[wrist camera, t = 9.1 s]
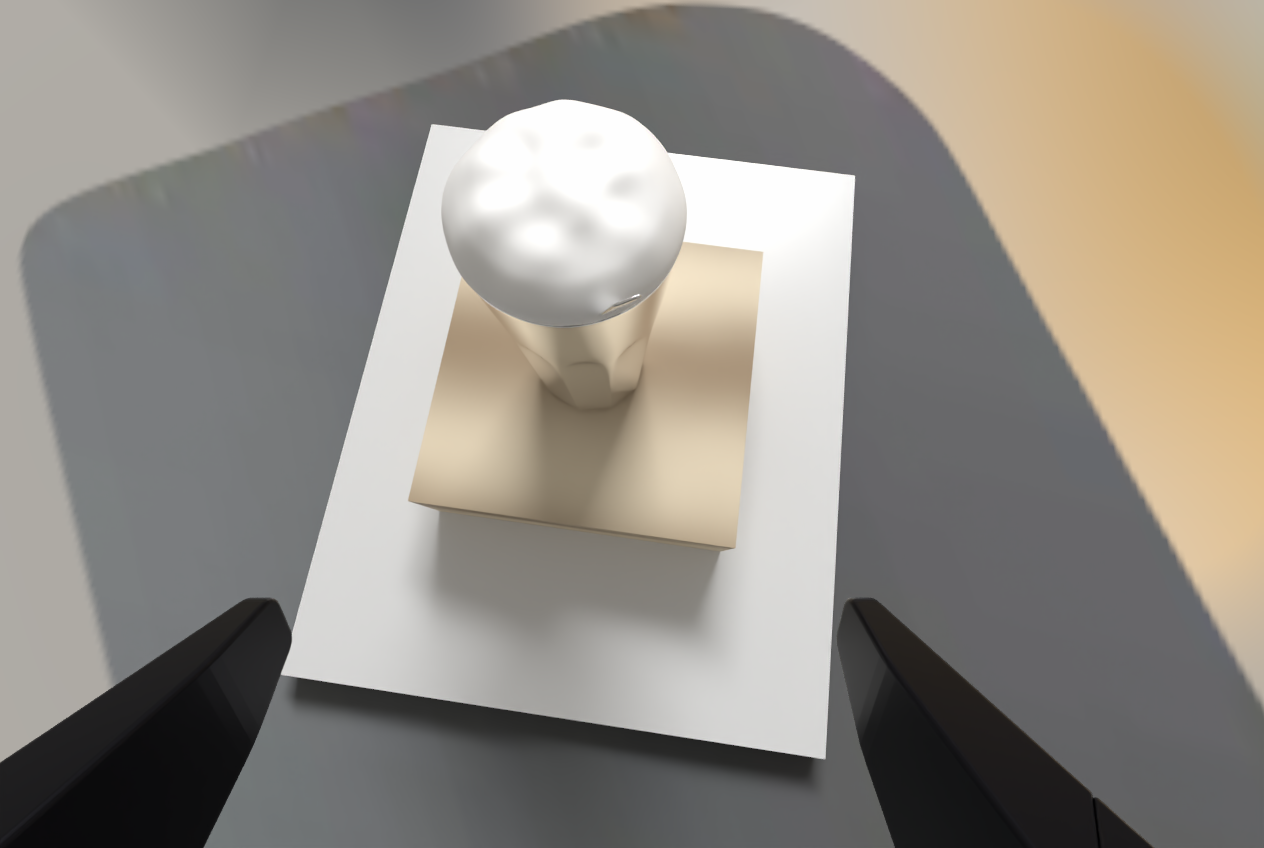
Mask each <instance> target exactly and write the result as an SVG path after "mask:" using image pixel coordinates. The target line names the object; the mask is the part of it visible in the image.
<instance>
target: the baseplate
mask: <svg viewBox="0 0 1264 848" xmlns="http://www.w3.org/2000/svg"><path fill="white" fill-rule="evenodd" d="M485 132H486V131H483V130H475V129H466V128H458V127H450V126H442V125H434V124H432V126H431V129H430V133H429V137H428V140H427V144H426V147H425V151H424V155H423V158H422V162H421V166H420V169H419V173H418V177H417V180H416V184H415V188H414V191H413V195H412V198H411V202H410V206H409V209H408V213H407V217H406V220H405V224H404V228H403V231H402V235H401V239H400V242H399V246H398V250H397V253H396V257H395V260H394V264H393V268H392V271H391V275H390V279H389V282H388V286H387V290H386V293H385V297H384V301H383V304H382V308H381V311H380V315H379V319H378V322H377V326H376V330H375V333H374V337H373V341H372V344H371V348H370V352H369V355H368V359H367V362H366V366H365V370H364V373H363V377H362V381H361V384H360V388H359V392H358V395H357V399H356V403H355V406H354V410H353V413H352V417H351V421H350V424H349V428H348V432H347V435H346V439H345V443H344V446H343V450H342V454H341V457H340V461H339V465H338V468H337V472H336V475H335V479H334V483H333V486H332V490H331V494H330V497H329V501H328V505H327V508H326V512H325V516H324V519H323V523H322V526H321V530H320V534H319V537H318V541H317V545H316V548H315V552H314V556H313V559H312V563H311V567H310V570H309V574H308V577H307V581H306V585H305V588H304V592H303V596H302V599H301V603H300V607H299V610H298V614H297V618H296V621H295V625H294V628H293V632H292V644H291V648H290V651H289V654H288V656H287V659H286V662H285V664H284V667H283V670H282V672H281V675H286V676H293V677H299V678H305V679H312V680H318V681H325V682H331V683H338V684H344V685H350V686H357V687H363V688H370V689H376V690H383V691H389V692H396V693H402V694H408V695H415V696H421V697H428V698H434V699H441V700H447V701H453V702H460V703H466V704H473V705H479V706H486V707H492V708H499V709H505V710H511V711H518V712H524V713H531V714H537V715H544V716H550V717H556V718H563V719H569V720H576V721H582V722H589V723H595V724H601V725H608V726H614V727H621V728H627V729H634V730H640V731H647V732H653V733H659V734H666V735H672V736H679V737H685V738H692V739H698V740H704V741H711V742H717V743H724V744H730V745H737V746H743V747H749V748H756V749H762V750H769V751H775V752H782V753H788V754H795V755H801V756H807V757H814V758H820V759H825V756H826V736H827V716H828V697H829V677H830V657H831V638H832V618H833V598H834V578H835V559H836V539H837V519H838V500H839V480H840V460H841V441H842V421H843V401H844V382H845V362H846V342H847V322H848V303H849V283H850V263H851V244H852V224H853V204H854V185H855V176H853V175H845V174H836V173H828V172H820V171H812V170H804V169H795V168H787V167H779V166H771V165H762V164H754V163H746V162H738V161H730V160H721V159H713V158H705V157H697V156H688V155H680V154H672V153H668V155H669V156H670V158H671V160H672V162H673V164H674V166H675V169H676V171H677V173H678V176H679V178H680V181H681V183H682V186H683V190H684V193H685V197H686V204H687V223H686V230H685V235H684V240H683V242H689V243H697V244H705V245H713V246H721V247H729V248H737V249H745V250H753V251H760V252H763V261H762V271H761V282H760V293H759V303H758V314H757V325H756V335H755V346H754V357H753V367H752V378H751V388H750V399H749V410H748V420H747V431H746V442H745V452H744V463H743V474H742V484H741V495H740V505H739V516H738V527H737V537H736V548H734V549H730V550H725V551H721V552H719V551H712V550H705V549H699V548H692V547H685V546H678V545H671V544H664V543H657V542H650V541H643V540H636V539H629V538H622V537H615V536H608V535H602V534H595V533H588V532H581V531H574V530H567V529H560V528H553V527H546V526H539V525H532V524H525V523H518V522H511V521H505V520H498V519H491V518H484V517H477V516H470V515H463V514H456V513H449V512H442V511H438V510H435V509H431V508H428V507H425V506H422V505H419V504H416V503H413V502H409V501H408V498H409V494H410V490H411V485H412V481H413V477H414V473H415V469H416V465H417V460H418V456H419V452H420V448H421V444H422V440H423V435H424V431H425V427H426V423H427V419H428V415H429V410H430V406H431V402H432V398H433V394H434V389H435V385H436V381H437V377H438V373H439V369H440V364H441V360H442V356H443V352H444V348H445V344H446V339H447V335H448V331H449V327H450V323H451V319H452V314H453V310H454V306H455V302H456V298H457V294H458V289H459V285H460V281H461V277H462V276H461V275H460V273H459V271H458V270H457V268H456V266H455V264H454V262H453V259H452V257H451V254H450V252H449V249H448V246H447V243H446V239H445V235H444V231H443V225H442V218H441V205H442V196H443V191H444V188H445V185H446V182H447V179H448V177H449V175H450V173H451V171H452V170H453V168H454V166H455V165H456V164H457V162H458V161H459V160H460V159H461V158H462V157H463V155H464V154H465V153H466V152H467V151H468V150H469V149H470V148H471V147H472V146H473V144H474V143H475V142H476V141H477V140H478V139H479V138H480V137H481V136H482V135H483V134H484V133H485Z"/></svg>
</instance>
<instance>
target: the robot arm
mask: <svg viewBox="0 0 1264 848" xmlns="http://www.w3.org/2000/svg"><path fill="white" fill-rule="evenodd" d="M291 644H292V633H291V630H290V627H289V625H288V623H287V620H286V618H285V616H284V614H283V611H282V609H281V607H280V604H279V603H278V601H277V600H275V599H274V598H248V599H245V600H243V601H241V602H239V603H238V604H236V605H235V606H233V607H232V608H230V609H229V610H227V611H226V612H224V613H223V614H222V615H220V616H219V617H217V618H216V619H214V620H213V621H211V622H210V623H208V624H207V625H205V626H204V627H202V628H201V629H199V630H198V631H196V632H195V633H193V634H192V635H190V636H189V637H187V638H186V639H184V640H183V641H181V642H180V643H178V644H177V645H175V646H174V647H172V648H171V649H169V650H168V651H166V652H165V653H163V654H162V655H160V656H159V657H157V658H156V659H154V660H153V661H151V662H150V663H148V664H147V665H145V666H144V667H142V668H141V669H139V670H138V671H136V672H135V673H133V674H132V675H130V676H129V677H127V678H126V679H124V680H123V681H121V682H120V683H118V684H117V685H115V686H114V687H112V688H111V689H109V690H108V691H106V692H105V693H103V694H102V695H100V696H99V697H97V698H96V699H94V700H93V701H91V702H90V703H89V704H87V705H86V706H84V707H83V708H81V709H80V710H78V711H77V712H75V713H74V714H72V715H71V716H69V717H68V718H66V719H65V720H63V721H62V722H60V723H59V724H57V725H56V726H54V727H53V728H51V729H50V730H48V731H47V732H45V733H44V734H42V735H41V736H39V737H38V738H36V739H35V740H33V741H32V742H30V743H29V744H27V745H26V746H24V747H23V748H21V749H20V750H18V751H17V752H15V753H14V754H12V755H11V756H10V757H8V758H6V759H5V760H3V761H2V762H0V848H204V846H205V844H206V841H207V839H208V837H209V835H210V833H211V831H212V829H213V827H214V825H215V823H216V821H217V819H218V817H219V815H220V813H221V811H222V809H223V807H224V805H225V803H226V801H227V799H228V797H229V795H230V793H231V791H232V789H233V787H234V785H235V782H236V780H237V778H238V776H239V774H240V772H241V770H242V768H243V766H244V764H245V762H246V760H247V758H248V756H249V754H250V751H251V749H252V747H253V745H254V743H255V740H256V738H257V735H258V733H259V730H260V728H261V725H262V723H263V720H264V717H265V715H266V712H267V709H268V707H269V704H270V701H271V699H272V696H273V694H274V691H275V688H276V686H277V683H278V680H279V678H280V675H281V672H282V670H283V667H284V664H285V662H286V659H287V656H288V654H289V651H290V648H291ZM837 648H838V652H839V657H840V661H841V665H842V670H843V674H844V678H845V683H846V687H847V691H848V696H849V700H850V704H851V709H852V713H853V718H854V722H855V726H856V730H857V734H858V738H859V742H860V746H861V749H862V752H863V755H864V759H865V762H866V765H867V768H868V770H869V773H870V776H871V779H872V782H873V785H874V788H875V791H876V794H877V797H878V800H879V803H880V805H881V808H882V811H883V814H884V817H885V820H886V823H887V826H888V829H889V832H890V835H891V838H892V840H893V843H894V846H895V848H1154V847H1153V846H1152V845H1151V844H1150V843H1149V842H1147V841H1146V840H1145V839H1144V838H1143V837H1142V836H1141V835H1139V834H1138V833H1137V832H1136V831H1135V830H1134V829H1132V828H1131V827H1130V826H1129V825H1128V824H1127V823H1126V822H1125V821H1123V820H1122V819H1121V818H1120V817H1119V816H1118V815H1117V814H1116V813H1114V812H1113V811H1112V810H1111V809H1110V808H1109V807H1108V806H1107V805H1106V804H1104V803H1103V802H1102V801H1101V800H1100V799H1099V798H1093V796H1092V793H1091V791H1090V790H1088V789H1087V788H1086V787H1085V786H1084V785H1083V784H1082V783H1081V782H1080V781H1078V780H1077V779H1076V778H1075V777H1074V776H1073V775H1072V774H1071V773H1069V772H1068V771H1067V770H1066V769H1065V768H1064V767H1063V766H1062V765H1061V764H1059V763H1058V762H1057V761H1056V760H1055V759H1054V758H1053V757H1052V756H1050V755H1049V754H1048V753H1047V752H1046V751H1045V750H1044V749H1043V748H1042V747H1040V746H1039V745H1038V744H1037V743H1036V742H1035V741H1034V740H1033V739H1031V738H1030V737H1029V736H1028V735H1027V734H1026V733H1025V732H1024V731H1023V730H1021V729H1020V728H1019V727H1018V726H1017V725H1016V724H1015V723H1014V722H1012V721H1011V720H1010V719H1009V718H1008V717H1007V716H1006V715H1005V714H1004V713H1002V712H1001V711H1000V710H999V709H998V708H997V707H996V706H995V705H993V704H992V703H991V702H990V701H989V700H988V699H987V698H986V697H985V696H983V695H982V694H981V693H980V692H979V691H978V690H977V689H976V688H974V687H973V686H972V685H971V684H970V683H969V682H968V681H967V680H966V679H964V678H963V677H962V676H961V675H960V674H959V673H958V672H957V671H955V670H954V669H953V668H952V667H951V666H950V665H949V664H948V663H947V662H945V661H944V660H943V659H942V658H941V657H940V656H939V655H938V654H936V653H935V652H934V651H933V650H932V649H931V648H930V647H929V646H928V645H926V644H925V643H924V642H923V641H922V640H921V639H920V638H919V637H917V636H916V635H915V634H914V633H913V632H912V631H911V630H910V629H909V628H907V627H906V626H905V625H904V624H903V623H902V622H901V621H900V620H898V619H897V618H896V617H895V616H894V615H893V614H892V613H891V612H890V611H888V610H887V609H886V608H885V607H884V606H883V605H882V604H881V603H879V602H878V601H877V600H875V599H873V598H849V599H847V601H846V602H845V604H844V608H843V612H842V615H841V619H840V623H839V627H838V631H837Z"/></svg>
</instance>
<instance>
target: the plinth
mask: <svg viewBox="0 0 1264 848" xmlns="http://www.w3.org/2000/svg"><path fill="white" fill-rule="evenodd" d="M762 261H763V252H760V251H753V250H745V249H737V248H729V247H721V246H713V245H705V244H697V243H689V242H683V243H682V246H681V249H680V252H679V255H678V258H677V261H676V264H675V267H674V270H673V273H672V275H671V278H670V281H669V284H668V287H667V290H666V293H665V296H664V298H663V301H662V304H661V307H660V309H659V312H658V314H657V317H656V320H655V322H654V325H653V328H652V331H651V334H650V338H649V341H648V345H647V349H646V353H645V356H644V360H643V364H642V368H641V372H640V376H639V380H638V384H637V387H636V389H635V390H633V391H632V392H631V393H629V394H628V395H627V396H626V397H624V398H623V399H622V400H621V401H619V402H618V403H617V404H616V405H615V406H613V407H612V408H605V409H590V410H578V409H576V408H575V407H573V406H571V405H570V404H568V403H567V402H565V401H563V400H562V399H560V398H558V397H557V396H555V395H553V394H552V393H551V392H550V390H549V389H548V388H547V386H546V385H545V384H544V382H543V381H542V379H541V378H540V377H539V375H538V374H537V372H536V371H535V370H534V368H533V367H532V365H531V364H530V363H529V361H528V360H527V358H526V357H525V356H524V354H523V353H522V351H521V350H520V349H519V347H518V346H517V344H516V343H515V341H514V340H513V339H512V337H511V336H510V335H509V333H508V332H507V331H506V329H505V328H504V327H503V326H502V324H501V323H500V322H499V321H498V319H497V318H496V317H495V316H494V314H493V313H492V312H491V311H490V310H489V308H488V307H487V306H486V305H485V303H484V302H483V301H482V300H481V299H480V297H479V296H478V295H477V294H476V292H475V291H474V290H473V289H472V288H471V287H470V286H469V285H468V284H467V283H466V281H465V280H464V279H463V278H462V277H461V281H460V285H459V289H458V294H457V298H456V302H455V306H454V310H453V314H452V319H451V323H450V327H449V331H448V335H447V339H446V344H445V348H444V352H443V356H442V360H441V364H440V369H439V373H438V377H437V381H436V385H435V389H434V394H433V398H432V402H431V406H430V410H429V415H428V419H427V423H426V427H425V431H424V435H423V440H422V444H421V448H420V452H419V456H418V460H417V465H416V469H415V473H414V477H413V481H412V485H411V490H410V494H409V498H408V501H409V502H413V503H416V504H419V505H422V506H425V507H428V508H431V509H435V510H438V511H442V512H449V513H456V514H463V515H470V516H477V517H484V518H491V519H498V520H505V521H511V522H518V523H525V524H532V525H539V526H546V527H553V528H560V529H567V530H574V531H581V532H588V533H595V534H602V535H608V536H615V537H622V538H629V539H636V540H643V541H650V542H657V543H664V544H671V545H678V546H685V547H692V548H699V549H705V550H712V551H719V552H721V551H725V550H730V549H734V548H736V537H737V527H738V516H739V505H740V495H741V484H742V474H743V463H744V452H745V442H746V431H747V420H748V410H749V399H750V388H751V378H752V367H753V357H754V346H755V335H756V325H757V314H758V303H759V293H760V282H761V271H762Z"/></svg>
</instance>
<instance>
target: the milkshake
mask: <svg viewBox="0 0 1264 848" xmlns="http://www.w3.org/2000/svg"><path fill="white" fill-rule="evenodd" d="M441 218H442V225H443V231H444V235H445V239H446V243H447V246H448V249H449V252H450V254H451V257H452V259H453V262H454V264H455V266H456V268H457V270H458V271H459V273H460V275H461V276H462V278H463V279H464V280H465V281H466V283H467V284H468V285H469V286H470V287H471V288H472V289H473V290H474V291H475V292H476V294H477V295H478V296H479V297H480V299H481V300H482V301H483V302H484V303H485V305H486V306H487V307H488V308H489V310H490V311H491V312H492V313H493V314H494V316H495V317H496V318H497V319H498V321H499V322H500V323H501V324H502V326H503V327H504V328H505V329H506V331H507V332H508V333H509V335H510V336H511V337H512V339H513V340H514V341H515V343H516V344H517V346H518V347H519V349H520V350H521V351H522V353H523V354H524V356H525V357H526V358H527V360H528V361H529V363H530V364H531V365H532V367H533V368H534V370H535V371H536V372H537V374H538V375H539V377H540V378H541V379H542V381H543V382H544V384H545V385H546V386H547V388H548V389H549V390H550V392H551V393H552V394H553V395H555V396H557V397H558V398H560V399H562V400H563V401H565V402H567V403H568V404H570V405H571V406H573V407H575V408H576V409H578V410H590V409H605V408H612V407H613V406H615V405H616V404H617V403H618V402H619V401H621V400H622V399H623V398H624V397H626V396H627V395H628V394H629V393H631V392H632V391H633V390H635V389H636V387H637V384H638V380H639V376H640V372H641V368H642V364H643V360H644V356H645V353H646V349H647V345H648V341H649V338H650V334H651V331H652V328H653V325H654V322H655V320H656V317H657V314H658V312H659V309H660V307H661V304H662V301H663V298H664V296H665V293H666V290H667V287H668V284H669V281H670V278H671V275H672V273H673V270H674V267H675V264H676V261H677V258H678V255H679V252H680V249H681V246H682V243H683V240H684V235H685V230H686V223H687V204H686V197H685V193H684V190H683V186H682V183H681V181H680V178H679V176H678V173H677V171H676V169H675V166H674V164H673V162H672V160H671V158H670V156H669V155H668V153H667V151H666V150H665V148H664V147H663V146H662V144H661V143H660V142H659V141H658V139H657V138H656V137H655V136H654V135H653V134H652V133H651V132H650V131H649V130H648V129H647V128H645V127H644V126H643V125H642V124H641V123H639V122H638V121H637V120H635V119H634V118H632V117H630V116H628V115H626V114H624V113H622V112H619V111H616V110H612V109H608V108H605V107H601V106H597V105H592V104H588V103H584V102H579V101H574V100H556V101H552V102H549V103H546V104H543V105H539V106H536V107H533V108H529V109H525V110H521V111H517V112H514V113H511V114H509V115H507V116H505V117H503V118H502V119H500V120H499V121H498V122H496V123H495V124H494V125H493V126H491V127H490V128H489V129H488V130H487V131H486V132H485V133H484V134H483V135H482V136H481V137H480V138H479V139H478V140H477V141H476V142H475V143H474V144H473V146H472V147H471V148H470V149H469V150H468V151H467V152H466V153H465V154H464V155H463V157H462V158H461V159H460V160H459V161H458V162H457V164H456V165H455V166H454V168H453V170H452V171H451V173H450V175H449V177H448V179H447V182H446V185H445V188H444V191H443V196H442V205H441Z"/></svg>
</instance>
